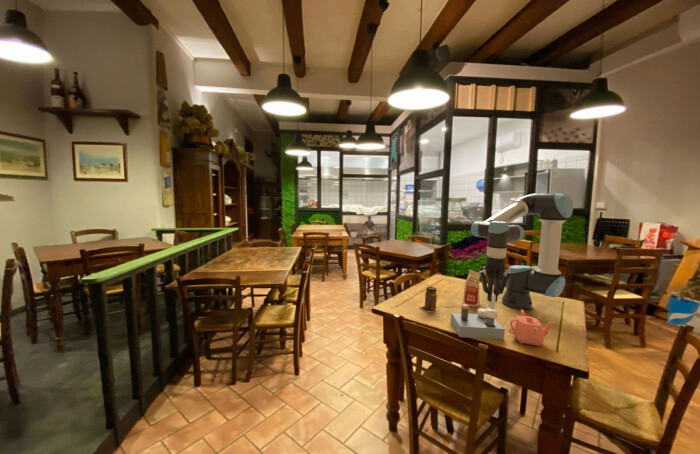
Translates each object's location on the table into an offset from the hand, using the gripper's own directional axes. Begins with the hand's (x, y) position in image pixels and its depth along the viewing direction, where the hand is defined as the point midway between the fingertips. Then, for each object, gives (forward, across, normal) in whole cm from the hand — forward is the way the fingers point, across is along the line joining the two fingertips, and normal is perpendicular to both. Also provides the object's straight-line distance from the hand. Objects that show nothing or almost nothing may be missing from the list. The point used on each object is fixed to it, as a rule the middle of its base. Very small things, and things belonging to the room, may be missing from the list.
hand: (491, 308), depth 121 cm
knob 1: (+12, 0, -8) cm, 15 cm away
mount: (+13, +4, -4) cm, 14 cm away
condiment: (+13, +21, -26) cm, 36 cm away
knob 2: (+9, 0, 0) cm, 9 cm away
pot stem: (+8, +10, -4) cm, 13 cm away
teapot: (+13, -16, +3) cm, 21 cm away
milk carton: (+13, -6, -38) cm, 41 cm away
